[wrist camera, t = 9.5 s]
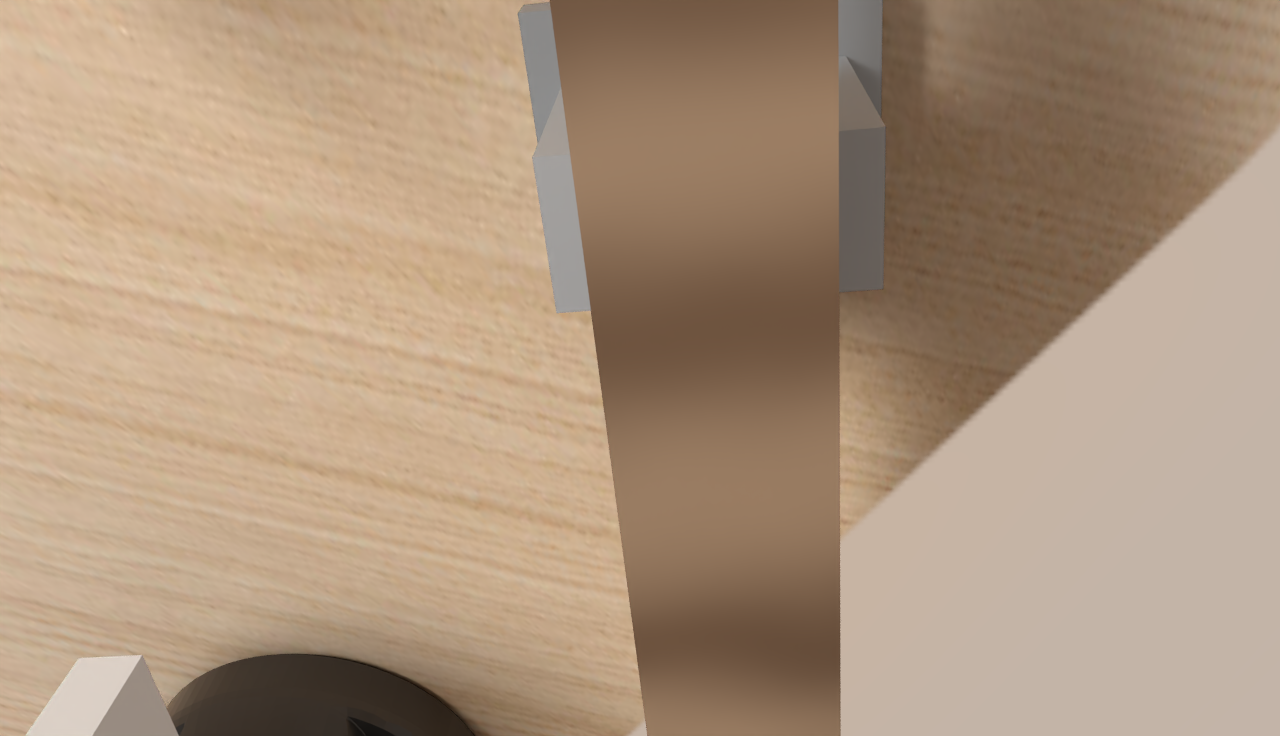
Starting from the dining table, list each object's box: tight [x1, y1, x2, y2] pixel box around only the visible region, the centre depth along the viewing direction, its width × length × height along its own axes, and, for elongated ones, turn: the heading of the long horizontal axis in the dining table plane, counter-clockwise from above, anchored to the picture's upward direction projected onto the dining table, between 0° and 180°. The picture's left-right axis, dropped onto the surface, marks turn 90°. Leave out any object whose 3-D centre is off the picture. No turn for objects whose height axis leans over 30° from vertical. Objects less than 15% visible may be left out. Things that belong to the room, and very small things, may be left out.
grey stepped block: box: [518, 0, 886, 313], centre depth 28 cm, size 8×10×8 cm
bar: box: [550, 0, 840, 736], centre depth 22 cm, size 22×4×6 cm, turn 5°
